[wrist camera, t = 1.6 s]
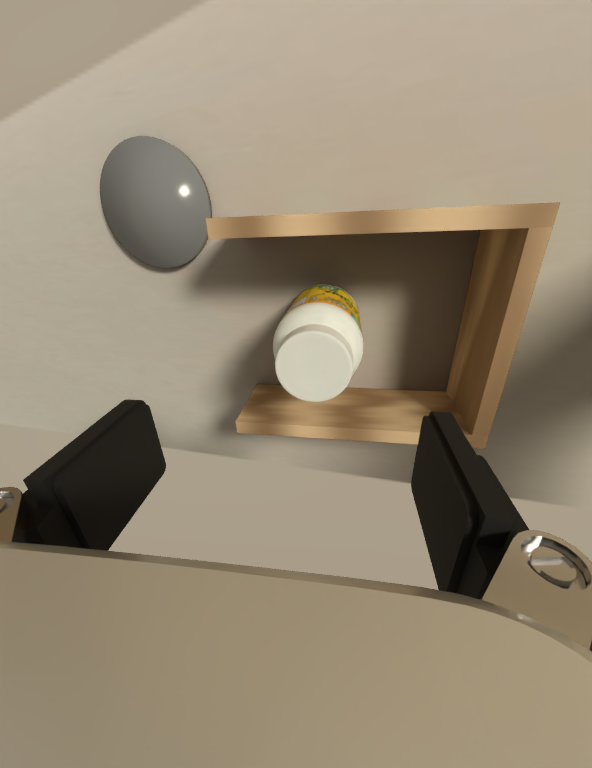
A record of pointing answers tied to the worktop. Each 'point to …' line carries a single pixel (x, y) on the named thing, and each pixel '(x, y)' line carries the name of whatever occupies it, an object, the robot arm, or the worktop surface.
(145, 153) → the slate coaster
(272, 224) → the wooden u-frame
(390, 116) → the worktop surface
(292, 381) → the supplement bottle
